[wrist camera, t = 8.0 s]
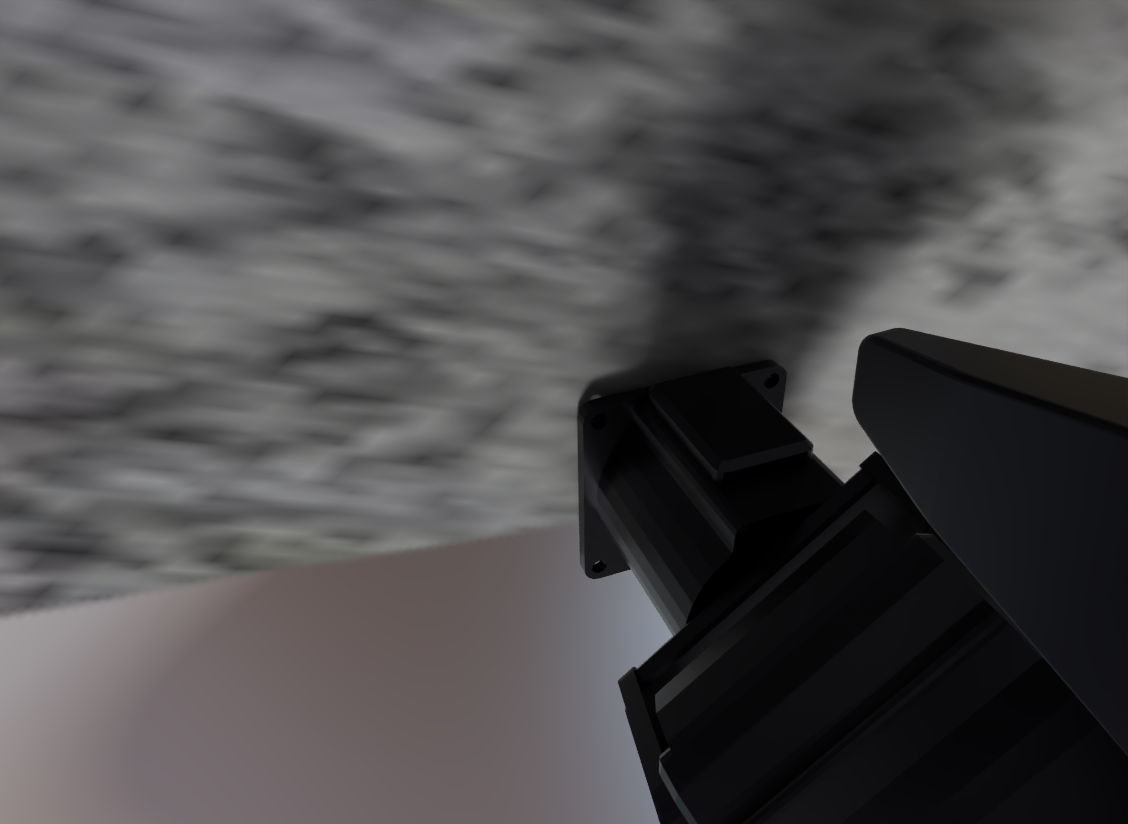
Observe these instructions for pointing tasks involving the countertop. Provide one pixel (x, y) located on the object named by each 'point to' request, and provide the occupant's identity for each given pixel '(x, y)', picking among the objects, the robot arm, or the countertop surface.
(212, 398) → the countertop surface
